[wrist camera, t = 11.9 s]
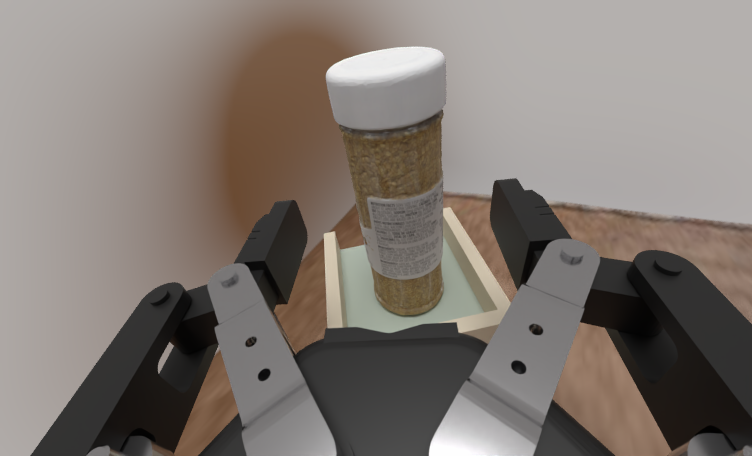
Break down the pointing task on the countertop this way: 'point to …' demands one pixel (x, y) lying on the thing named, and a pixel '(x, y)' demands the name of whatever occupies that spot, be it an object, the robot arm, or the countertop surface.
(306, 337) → the countertop surface
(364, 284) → the shallow square tray
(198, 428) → the countertop surface
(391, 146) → the sprinkles bottle
